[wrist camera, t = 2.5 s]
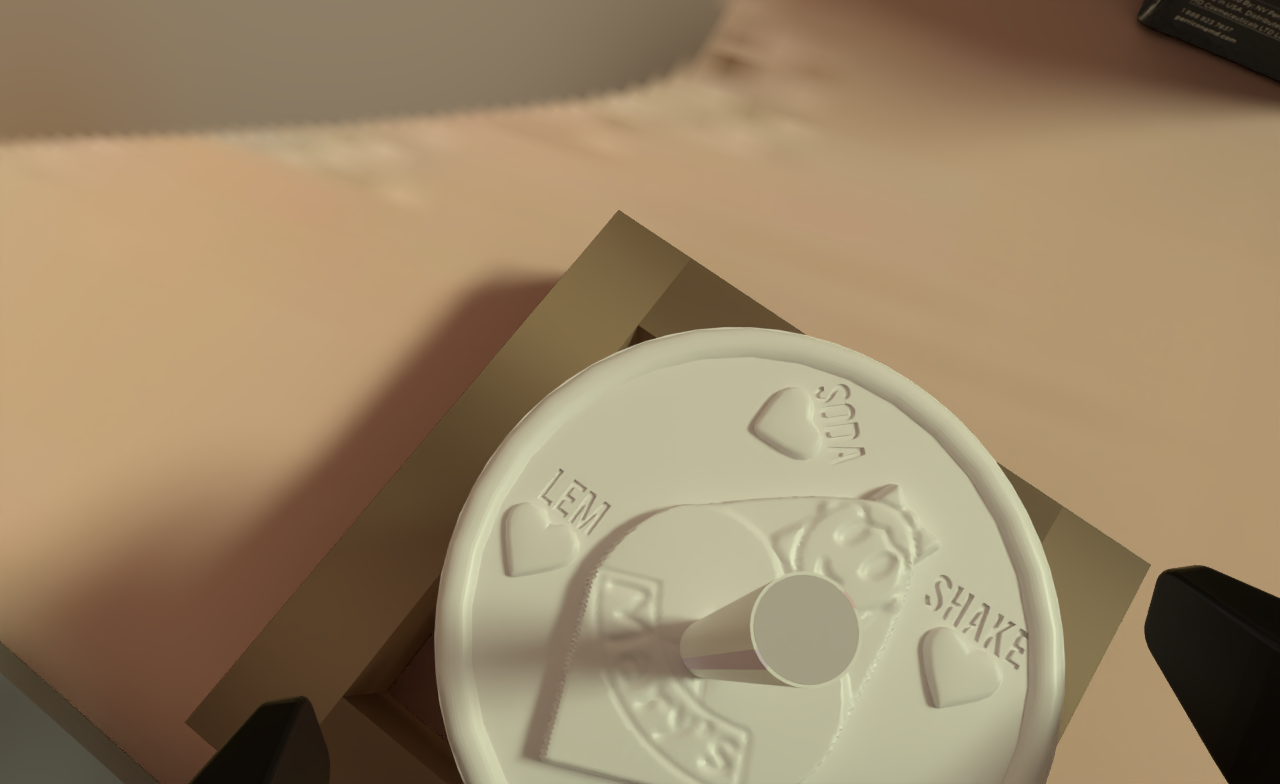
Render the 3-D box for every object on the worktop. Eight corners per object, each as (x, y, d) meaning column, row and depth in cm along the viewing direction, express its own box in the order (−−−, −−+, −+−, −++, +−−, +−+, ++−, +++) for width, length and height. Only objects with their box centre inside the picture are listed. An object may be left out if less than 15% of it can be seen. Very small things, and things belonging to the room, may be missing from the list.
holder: (758, 1140, 15) (793, 1250, 12) (256, 713, 17) (185, 722, 14) (1065, 581, 18) (1150, 564, 15) (616, 274, 20) (618, 209, 17)
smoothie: (466, 591, 18) (40, 359, 4) (721, 438, 19) (991, -104, 6) (625, 886, 16) (711, 1907, 3) (893, 698, 17) (1826, 795, 4)
